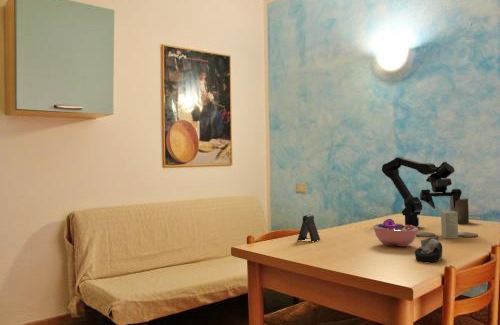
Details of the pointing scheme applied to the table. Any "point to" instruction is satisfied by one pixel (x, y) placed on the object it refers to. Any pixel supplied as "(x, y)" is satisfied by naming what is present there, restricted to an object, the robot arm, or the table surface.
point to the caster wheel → (429, 250)
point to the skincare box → (449, 224)
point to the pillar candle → (461, 210)
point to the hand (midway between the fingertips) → (444, 208)
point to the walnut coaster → (467, 234)
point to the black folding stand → (308, 229)
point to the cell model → (395, 233)
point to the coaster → (424, 234)
